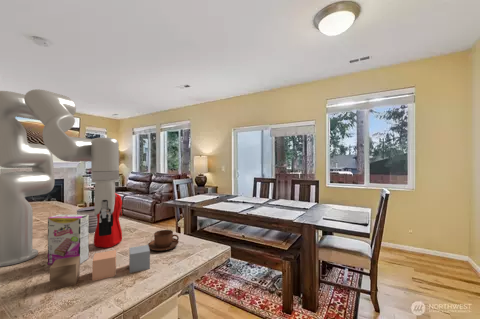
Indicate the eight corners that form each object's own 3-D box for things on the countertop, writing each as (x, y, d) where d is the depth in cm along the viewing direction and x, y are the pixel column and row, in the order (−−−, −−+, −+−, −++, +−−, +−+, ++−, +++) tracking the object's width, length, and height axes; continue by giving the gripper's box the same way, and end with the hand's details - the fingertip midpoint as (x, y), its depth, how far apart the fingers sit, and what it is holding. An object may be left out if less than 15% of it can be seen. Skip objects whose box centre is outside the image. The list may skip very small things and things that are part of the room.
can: (83, 235, 105) (83, 210, 105) (72, 231, 111) (72, 207, 111) (108, 229, 114) (108, 206, 114) (96, 225, 120) (96, 203, 120)
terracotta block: (92, 281, 66) (92, 261, 66) (94, 271, 71) (94, 253, 71) (115, 276, 69) (115, 256, 69) (116, 267, 74) (116, 249, 74)
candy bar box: (46, 265, 75) (46, 217, 75) (58, 259, 80) (58, 214, 80) (79, 265, 75) (80, 217, 75) (89, 258, 80) (89, 213, 80)
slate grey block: (129, 273, 71) (129, 254, 71) (129, 265, 76) (129, 247, 76) (149, 268, 73) (149, 250, 73) (148, 261, 79) (148, 244, 79)
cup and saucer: (177, 240, 99) (177, 226, 99) (180, 250, 88) (180, 235, 88) (148, 244, 95) (148, 229, 95) (147, 255, 84) (147, 239, 84)
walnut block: (49, 290, 61) (49, 268, 61) (55, 279, 67) (55, 259, 67) (76, 284, 64) (76, 263, 64) (79, 274, 69) (79, 255, 69)
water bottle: (112, 249, 88) (113, 187, 88) (89, 247, 91) (90, 186, 91) (128, 241, 97) (129, 185, 97) (107, 239, 100) (107, 184, 100)
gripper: (95, 176, 76) (95, 225, 76) (87, 179, 61) (88, 241, 61) (119, 175, 79) (120, 222, 79) (118, 177, 64) (119, 236, 64)
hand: (106, 230), depth 70 cm, fingers open, 9 cm apart
